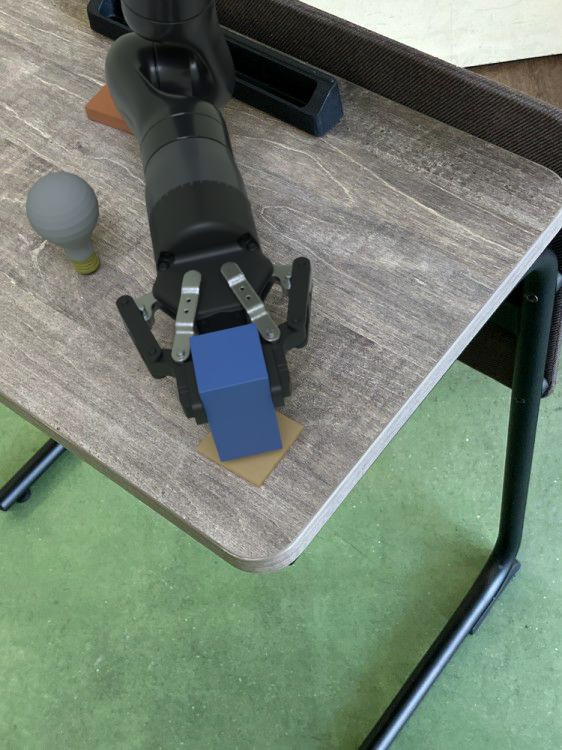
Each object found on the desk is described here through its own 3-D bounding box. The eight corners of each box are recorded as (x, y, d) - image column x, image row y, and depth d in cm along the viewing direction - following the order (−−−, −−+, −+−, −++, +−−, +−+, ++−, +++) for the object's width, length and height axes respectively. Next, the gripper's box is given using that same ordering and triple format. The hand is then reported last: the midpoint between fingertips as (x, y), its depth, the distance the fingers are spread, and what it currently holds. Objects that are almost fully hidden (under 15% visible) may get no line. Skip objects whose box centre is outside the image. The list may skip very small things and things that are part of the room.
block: (211, 410, 68) (188, 337, 61) (270, 396, 69) (255, 322, 61) (220, 462, 66) (198, 393, 59) (283, 448, 66) (268, 377, 59)
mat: (242, 394, 71) (241, 392, 70) (304, 428, 69) (303, 425, 68) (196, 451, 68) (195, 448, 68) (259, 488, 66) (258, 485, 66)
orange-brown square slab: (134, 70, 93) (130, 57, 92) (198, 90, 91) (195, 77, 89) (88, 118, 90) (83, 106, 89) (153, 141, 87) (150, 128, 86)
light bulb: (48, 259, 80) (8, 172, 72) (109, 235, 81) (76, 147, 73) (66, 304, 77) (26, 219, 69) (129, 279, 78) (96, 192, 70)
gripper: (90, 200, 66) (113, 402, 57) (290, 157, 67) (348, 350, 57) (116, 270, 72) (141, 462, 63) (299, 229, 73) (352, 415, 63)
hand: (239, 408), depth 60 cm, fingers closed on block, 4 cm apart
